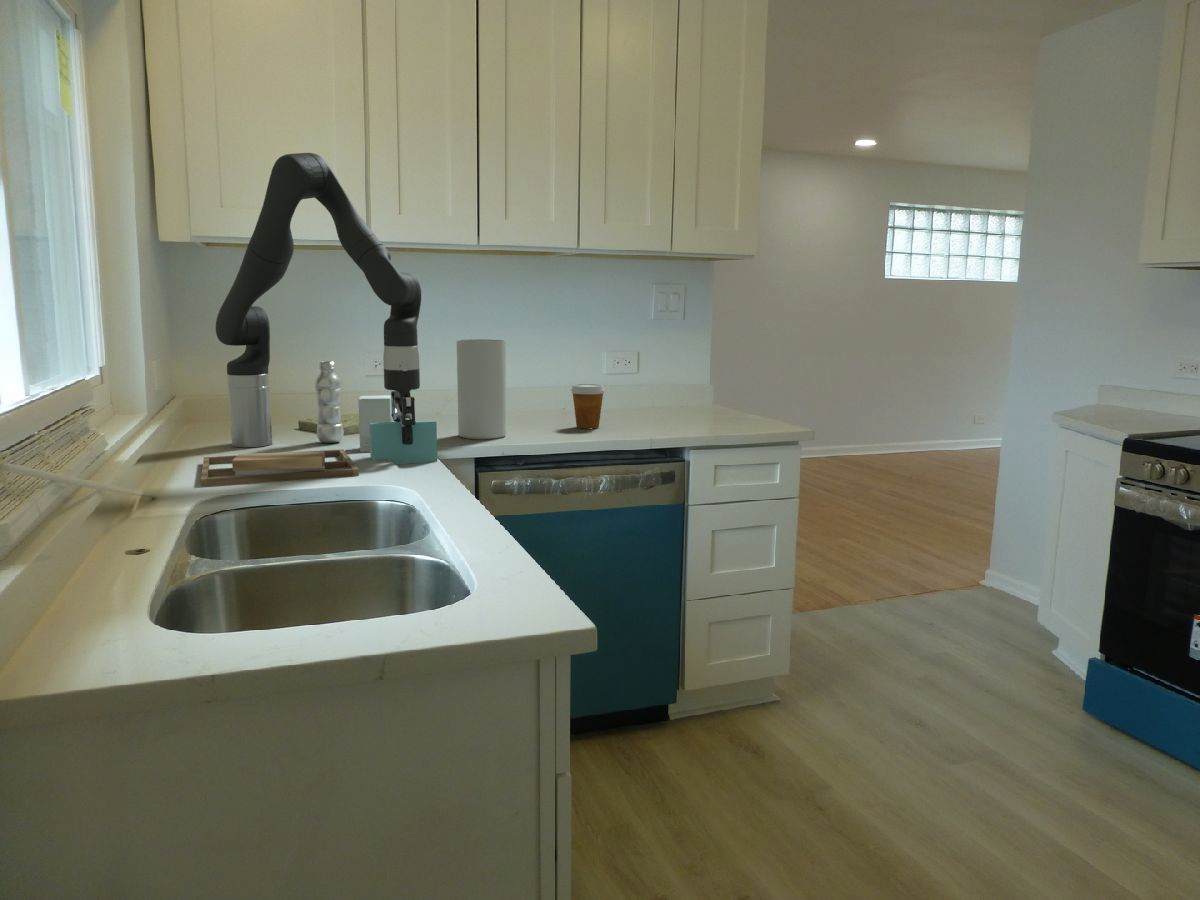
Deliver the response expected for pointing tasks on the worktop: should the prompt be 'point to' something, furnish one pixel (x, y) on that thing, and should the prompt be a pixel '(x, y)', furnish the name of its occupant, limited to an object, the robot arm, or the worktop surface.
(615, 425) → the worktop surface
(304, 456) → the oak offcut top
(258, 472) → the grey flat panel
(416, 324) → the robot arm
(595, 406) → the disposable coffee cup
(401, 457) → the teal block
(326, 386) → the plastic bottle
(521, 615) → the worktop surface
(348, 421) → the decorative tile
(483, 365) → the cylinder vase
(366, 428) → the supplement box
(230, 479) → the tray
